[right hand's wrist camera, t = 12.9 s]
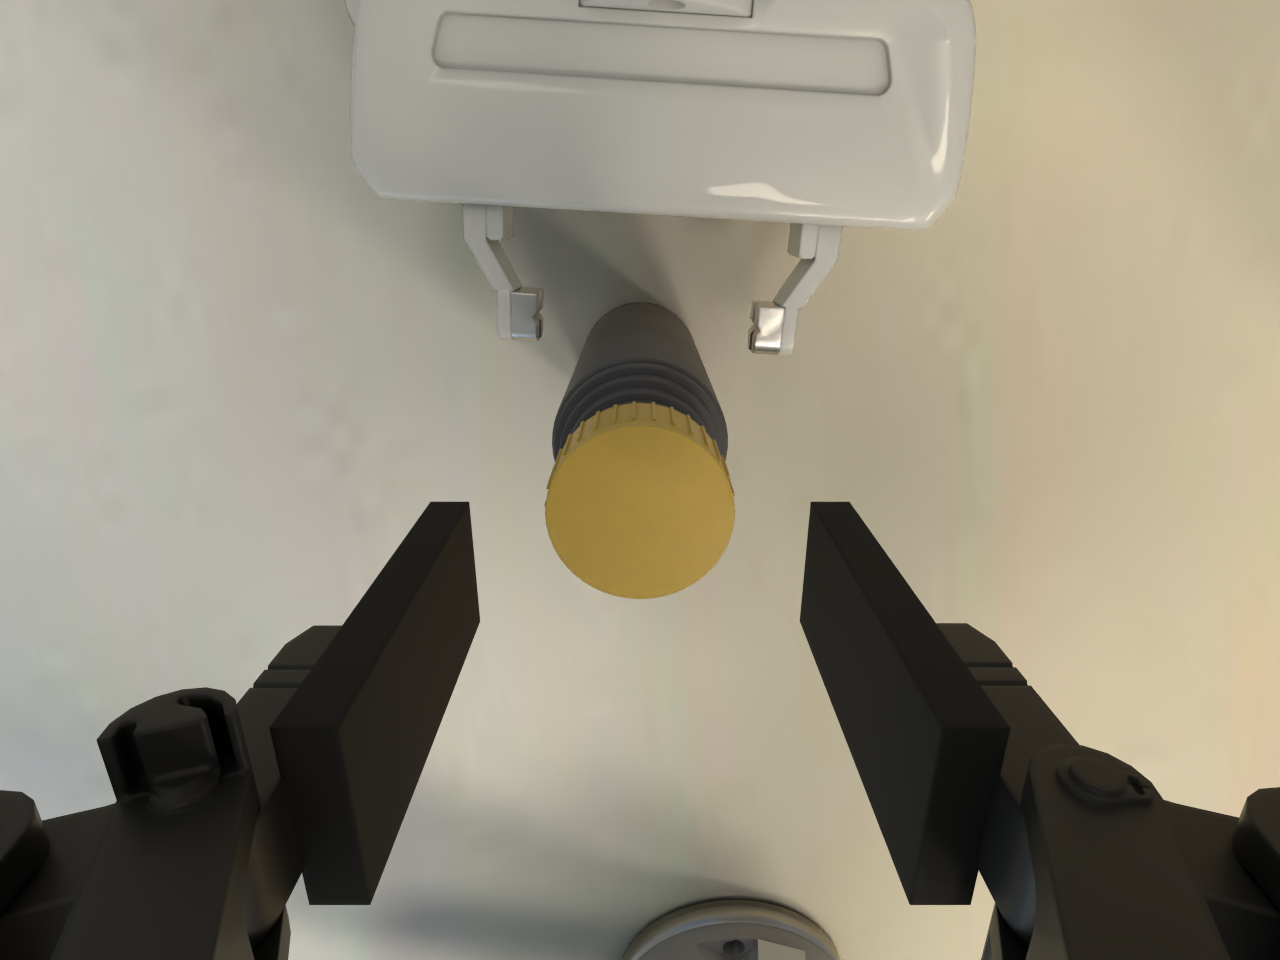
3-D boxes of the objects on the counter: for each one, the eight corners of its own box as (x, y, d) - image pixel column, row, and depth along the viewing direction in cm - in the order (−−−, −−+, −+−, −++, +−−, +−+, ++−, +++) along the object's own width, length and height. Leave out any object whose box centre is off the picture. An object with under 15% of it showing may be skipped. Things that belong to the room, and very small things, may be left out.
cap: (750, 529, 19) (762, 565, 17) (593, 584, 20) (588, 624, 18) (692, 373, 18) (698, 393, 16) (523, 438, 18) (510, 465, 16)
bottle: (711, 390, 34) (781, 565, 18) (609, 430, 35) (581, 634, 18) (672, 284, 33) (707, 365, 16) (565, 327, 33) (489, 450, 16)
